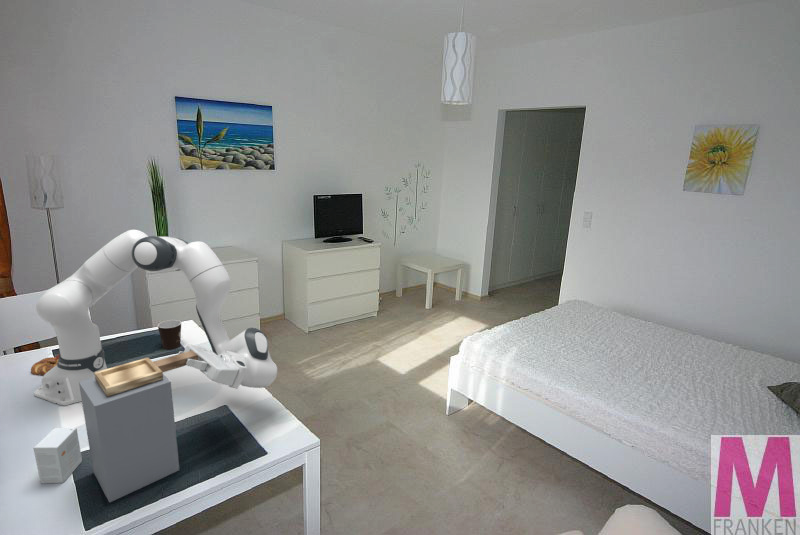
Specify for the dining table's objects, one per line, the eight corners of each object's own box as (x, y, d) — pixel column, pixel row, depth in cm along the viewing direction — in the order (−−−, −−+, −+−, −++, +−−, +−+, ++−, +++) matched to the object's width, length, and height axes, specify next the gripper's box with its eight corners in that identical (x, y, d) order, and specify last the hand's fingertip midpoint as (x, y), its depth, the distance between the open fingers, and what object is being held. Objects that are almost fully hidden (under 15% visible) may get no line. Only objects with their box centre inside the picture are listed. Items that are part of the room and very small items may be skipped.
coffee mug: (173, 352, 179) (171, 329, 176) (155, 349, 181) (152, 326, 178) (192, 340, 190) (190, 318, 187) (174, 337, 192) (172, 316, 189)
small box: (60, 461, 118) (54, 427, 115) (83, 461, 118) (77, 427, 115) (39, 484, 110) (32, 447, 107) (63, 483, 110) (56, 447, 108)
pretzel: (30, 380, 155) (28, 371, 154) (32, 367, 163) (30, 358, 162) (72, 371, 162) (71, 362, 161) (72, 359, 170) (71, 350, 169)
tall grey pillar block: (159, 444, 126) (150, 361, 119) (179, 470, 117) (170, 381, 110) (93, 472, 115) (78, 381, 108) (109, 502, 105) (94, 406, 98)
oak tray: (188, 352, 124) (187, 346, 123) (203, 365, 117) (203, 359, 117) (95, 379, 108) (94, 372, 108) (107, 396, 102) (106, 388, 101)
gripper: (216, 344, 135) (172, 334, 125) (249, 369, 122) (204, 360, 112) (206, 364, 135) (162, 355, 124) (239, 391, 121) (193, 384, 111)
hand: (182, 358), depth 118 cm, fingers closed on oak tray, 3 cm apart
